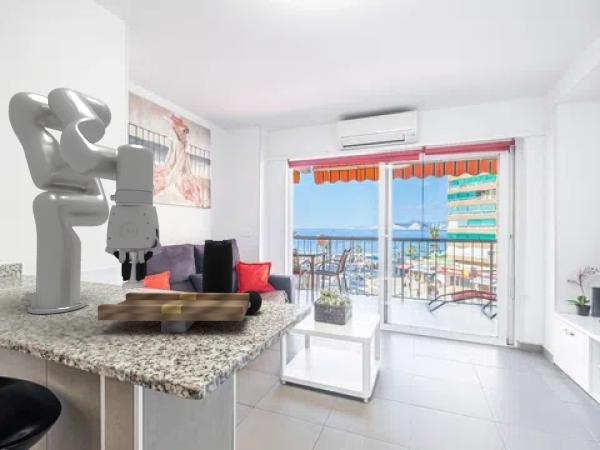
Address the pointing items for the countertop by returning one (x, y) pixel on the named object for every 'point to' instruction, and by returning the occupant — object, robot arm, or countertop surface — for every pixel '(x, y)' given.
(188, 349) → the countertop surface
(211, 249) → the portable speaker
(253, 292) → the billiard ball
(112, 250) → the robot arm
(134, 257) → the chess piece
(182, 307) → the beam
